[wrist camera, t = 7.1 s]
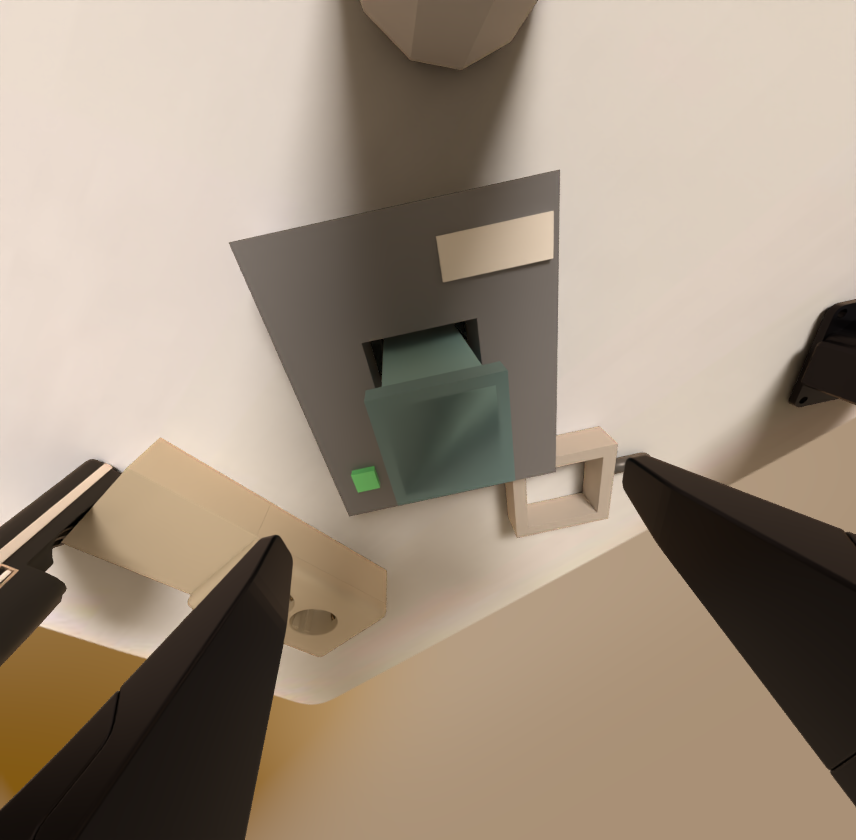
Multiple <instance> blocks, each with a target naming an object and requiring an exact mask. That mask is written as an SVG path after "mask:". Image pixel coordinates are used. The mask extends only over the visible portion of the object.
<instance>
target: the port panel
mask: <svg viewBox="0 0 856 840" xmlns="http://www.w3.org/2000/svg"><path fill="white" fill-rule="evenodd" d="M559 198H560V170H556V171H551V172H547V173H542V174H538V175H533V176H529V177H524V178H520V179H515V180H511V181H506V182H501V183H497V184H492V185H488V186H483V187H479V188H474V189H470V190H465V191H461V192H456V193H452V194H447V195H442V196H438V197H433V198H429V199H424V200H420V201H415V202H411V203H406V204H402V205H397V206H393V207H388V208H383V209H379V210H374V211H370V212H365V213H361V214H356V215H352V216H347V217H343V218H338V219H334V220H329V221H324V222H320V223H315V224H311V225H306V226H302V227H297V228H293V229H288V230H284V231H279V232H275V233H270V234H265V235H261V236H256V237H252V238H247V239H243V240H238V241H234V242H229V244H230V247H231V249H232V251H233V253H234V256H235V258H236V260H237V263H238V265H239V267H240V269H241V272H242V274H243V276H244V278H245V281H246V283H247V285H248V287H249V290H250V292H251V294H252V297H253V299H254V301H255V303H256V306H257V308H258V310H259V312H260V315H261V317H262V319H263V321H264V324H265V326H266V328H267V331H268V333H269V335H270V337H271V340H272V342H273V344H274V346H275V349H276V351H277V353H278V356H279V358H280V360H281V362H282V365H283V367H284V369H285V371H286V374H287V376H288V378H289V380H290V383H291V385H292V387H293V390H294V392H295V394H296V396H297V399H298V401H299V403H300V405H301V408H302V410H303V412H304V415H305V417H306V419H307V421H308V424H309V426H310V428H311V430H312V433H313V435H314V437H315V439H316V442H317V444H318V446H319V449H320V451H321V453H322V455H323V458H324V460H325V462H326V464H327V467H328V469H329V471H330V473H331V476H332V478H333V480H334V483H335V485H336V487H337V489H338V492H339V494H340V496H341V498H342V501H343V503H344V505H345V508H346V510H347V512H348V514H349V516H353V515H358V514H362V513H367V512H372V511H376V510H381V509H386V508H390V507H395V506H398V504H397V501H396V498H395V495H394V492H393V489H392V486H391V483H390V480H389V477H388V474H387V471H386V468H385V465H384V461H383V458H382V455H381V452H380V449H379V446H378V443H377V440H376V437H375V434H374V431H373V428H372V425H371V422H370V418H369V415H368V412H367V409H366V406H365V403H364V398H365V391H366V390H369V389H374V388H379V387H382V381H381V378H380V374H379V371H378V367H377V364H376V360H375V357H374V353H373V350H372V346H371V343H370V341H374V340H379V339H383V338H388V337H392V336H397V335H402V334H406V333H411V332H415V331H420V330H424V329H429V328H434V327H438V326H443V325H447V324H452V323H457V322H461V321H465V323H466V330H467V338H468V346H469V347H470V348H471V350H472V351H473V353H474V354H475V356H476V357H477V359H478V360H479V361H480V363H481V364H482V365H485V364H489V363H494V362H498V361H500V362H501V363H502V364H503V365H504V366H505V368H506V369H507V370H508V380H509V395H510V409H511V424H512V439H513V453H514V468H515V481H516V480H520V479H525V478H530V477H534V476H539V475H544V474H548V473H553V472H556V410H557V340H558V269H559Z"/></svg>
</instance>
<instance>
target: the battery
mask: <svg viewBox="0 0 856 840" xmlns="http://www.w3.org/2000/svg"><path fill="white" fill-rule="evenodd" d="M112 468H113V467H112V466H110V465H108V464H107V463H105V464H103V463H101V462H100V461H98V460H95V459H90V460H88V461H86V462H85V463H83V464H82V465H81V466H79V467H78V468H77V469H75V470H74V471H73V472H72V473H70V474H69V475H68V476H66V477H65V478H64V479H62V480H61V481H60V482H58V483H57V484H56V485H55V486H53V487H52V488H51V489H49V490H48V491H47V492H45V493H44V494H43V495H42V496H40V497H39V498H38V499H36V500H35V501H34V502H32V503H31V504H30V505H28V506H27V507H26V508H24V509H23V510H22V511H20V512H19V513H18V514H17V515H15V516H14V517H13V518H11V519H10V520H9V521H7V522H6V523H5V524H3V525H2V526H1V527H0V666H1V665H2V664H3V663H4V662H5V661H6V660H7V659H8V658H9V657H10V656H11V655H12V654H13V653H14V651H16V649H17V648H18V647H19V646H20V645H21V644H22V643H23V642H24V641H25V640H26V639H27V638H28V637H29V636H30V634H32V632H33V631H34V630H35V629H36V628H37V627H38V626H39V625H40V624H41V623H42V622H43V621H44V620H45V618H46V617H47V616H48V615H49V614H50V613H51V612H52V611H53V610H54V608H55V607H56V606H57V605H58V604H59V603H60V602H61V599H62V595H63V594H64V592H65V591H66V589H67V588H66V586H65V583H63V582H62V581H60V580H59V579H58V578H56V577H54V576H52V575H50V574H48V573H46V572H45V571H46V570H47V569H48V568H49V567H50V566H51V565H52V564H53V558H52V549H53V548H55V547H58V546H61V545H64V544H63V543H61V542H62V541H63V540H64V539H65V537H66V536H67V535H68V534H69V533H70V532H71V531H72V529H73V528H74V527H75V526H76V525H77V524H78V523H79V522H80V520H81V519H82V518H83V517H84V516H85V515H86V514H87V512H88V511H89V510H90V509H91V508H92V507H93V506H94V505H95V503H96V502H97V501H98V500H99V499H100V498H101V497H102V496H103V494H104V493H105V492H106V491H107V490H108V489H109V488H110V486H111V485H112V484H113V483H114V482H115V481H116V480H117V479H118V477H119V476H120V475H121V474H120V473H118V472H117V471H115V470H113V469H112Z"/></svg>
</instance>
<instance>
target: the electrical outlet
mask: <svg viewBox="0 0 856 840" xmlns="http://www.w3.org/2000/svg"><path fill="white" fill-rule="evenodd" d="M271 535H279V536H280V537H281V538H282V540H283V541H284V543H285V545H286V546H287V548H288V549H289V551H290V553H291V555H292V558H293V569H292V580H291V591H290V601H289V612H288V621H287V628H286V634H285V639H284V644H286V645H288V646H291V647H294V648H296V649H299V650H301V651H304V652H307V653H309V654H312V655H315V656H317V657H321V656H324V655H326V654H327V653H329V652H330V651H332V650H333V649H335V648H337V647H338V646H340V645H341V644H343V643H344V642H346V641H348V640H349V639H351V638H352V637H354V636H355V635H357V634H359V633H360V632H362V631H363V630H365V629H366V628H368V627H370V626H371V625H373V624H374V623H376V622H377V621H379V620H380V619H382V618H383V617H384V616H385V614H386V590H387V571H386V570H385V569H383V568H382V567H380V566H378V565H377V564H375V563H373V562H371V561H370V560H368V559H366V558H365V557H363V556H361V555H360V554H358V553H356V552H354V551H353V550H351V549H349V548H348V547H346V546H344V545H343V544H341V543H339V542H337V541H336V540H334V539H332V538H331V537H329V536H327V535H326V534H324V533H322V532H320V531H319V530H317V529H315V528H314V527H312V526H310V525H309V524H307V523H305V522H303V521H302V520H300V519H298V518H297V517H295V516H293V515H292V514H290V513H288V512H286V511H285V510H283V509H281V508H280V507H278V506H276V505H275V504H273V503H271V502H269V501H268V500H266V499H264V498H263V497H261V496H259V495H258V494H256V493H254V492H252V491H251V490H249V489H247V488H246V487H244V486H242V485H241V484H239V483H237V482H235V481H234V480H232V479H230V478H229V477H227V476H225V475H224V474H222V473H220V472H218V471H217V470H215V469H213V468H212V467H210V466H208V465H207V464H205V463H203V462H201V461H200V460H198V459H196V458H195V457H193V456H191V455H190V454H188V453H186V452H184V451H183V450H181V449H179V448H178V447H176V446H174V445H173V444H171V443H169V442H167V441H166V440H164V439H162V438H161V437H160V438H159V439H158V440H157V441H156V442H155V443H154V444H153V445H151V446H150V447H149V448H148V449H147V450H146V451H145V452H144V453H143V454H142V455H140V456H139V457H138V458H137V459H136V460H135V461H134V462H133V463H132V464H131V465H129V466H128V467H127V468H126V469H125V471H124V472H123V473H122V474H121V475H120V476H119V477H118V479H117V480H116V481H115V482H114V483H113V484H112V485H111V486H110V488H109V489H108V490H107V491H106V492H105V493H104V494H103V496H102V497H101V498H100V499H99V500H98V501H97V502H96V503H95V505H94V506H93V507H92V508H91V509H90V510H89V511H88V512H87V514H86V515H85V516H84V517H83V518H82V519H81V520H80V522H79V523H78V524H77V525H76V526H75V527H74V528H73V529H72V531H71V532H70V533H69V534H68V535H67V536H66V537H65V539H64V540H63V541H62V542H61V543H63V544H66V545H68V546H71V547H73V548H76V549H78V550H81V551H83V552H86V553H88V554H91V555H93V556H96V557H98V558H101V559H103V560H106V561H108V562H111V563H113V564H116V565H118V566H121V567H123V568H126V569H128V570H131V571H133V572H136V573H138V574H141V575H143V576H146V577H148V578H151V579H153V580H156V581H158V582H161V583H163V584H166V585H168V586H171V587H173V588H176V589H178V590H181V591H183V592H186V593H189V594H191V596H190V597H189V599H188V605H189V606H190V607H191V608H192V609H195V608H196V606H197V605H198V604H199V603H200V602H201V601H202V600H203V599H204V598H205V597H206V596H207V595H208V594H209V593H210V592H211V590H212V589H213V588H214V587H215V586H216V585H217V584H218V583H219V582H220V581H221V580H222V579H223V578H224V577H225V576H226V574H227V573H228V572H229V571H230V570H231V569H232V568H233V567H234V566H235V565H236V564H237V563H238V562H239V561H240V560H241V559H242V557H243V556H244V555H245V554H246V553H247V552H248V551H249V550H250V549H251V548H252V547H253V546H254V545H255V544H256V543H257V541H258V540H260V539H261V538H263V537H267V536H271Z"/></svg>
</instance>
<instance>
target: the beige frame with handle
mask: <svg viewBox="0 0 856 840" xmlns="http://www.w3.org/2000/svg"><path fill="white" fill-rule="evenodd" d="M617 447H618V443H617V442H616V441H615V440H614V439H613V438H611V437H610V436H609V435H608V434H607V433H606V432H605V431H604V430H603V429H602V428H601V427H600V426H598V427H593V428H589V429H584V430H579V431H575V432H570V433H566V434H561V435H556V467H560V466H564V465H569V464H574V463H578V462H583V461H585V466H584V480H583V493H578V494H573V495H569V496H564V497H559V498H555V499H550V500H545V501H541V502H536V503H531V504H527V494H526V478H525V479H520V480H516V481H511V482H507V483H505V488H506V499H507V510H508V517H509V520H510V522H511V525H512V527H513V529H514V532H515V534H516V537H517V538H519V537H524V536H529V535H533V534H538V533H543V532H547V531H552V530H557V529H561V528H566V527H571V526H575V525H580V524H585V523H589V522H594V521H599V520H603V519H608V515H609V508H610V500H611V493H612V485H613V477H614V474H616V473H621V472H624V467H625V461H626V460H627V458H629V457H633V456H637V455H648V456H650V455H649V454H647V453H637V454H632V455H628V456H623V457H618V458H616V455H617ZM650 457H651V456H650Z"/></svg>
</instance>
